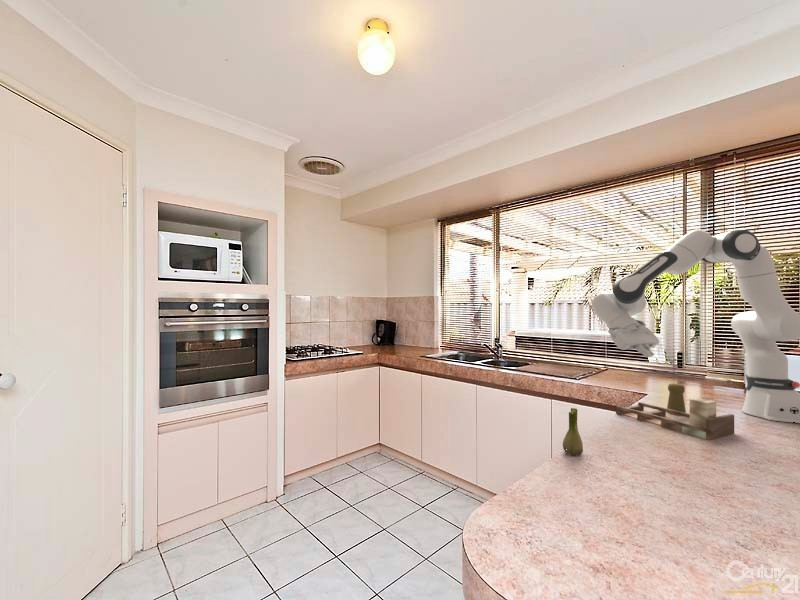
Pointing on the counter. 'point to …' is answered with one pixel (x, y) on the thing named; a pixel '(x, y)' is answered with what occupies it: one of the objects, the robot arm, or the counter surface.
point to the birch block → (701, 411)
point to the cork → (676, 398)
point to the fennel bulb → (573, 436)
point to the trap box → (680, 421)
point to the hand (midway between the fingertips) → (650, 356)
